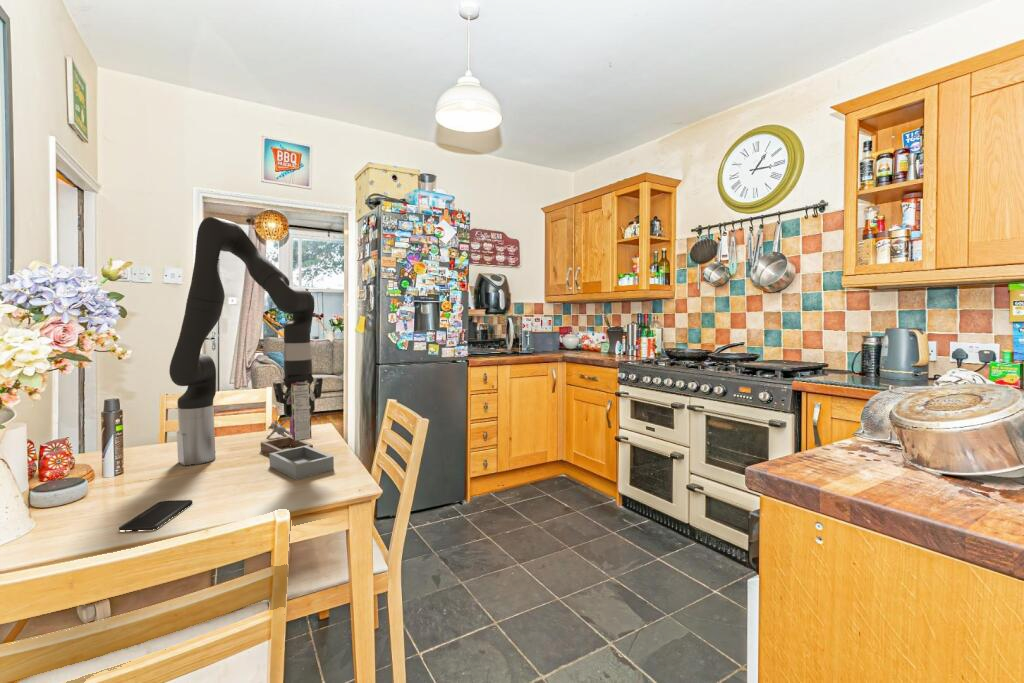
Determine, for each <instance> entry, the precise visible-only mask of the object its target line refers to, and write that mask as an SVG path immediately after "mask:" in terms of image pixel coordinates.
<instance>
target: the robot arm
mask: <svg viewBox="0 0 1024 683" xmlns="http://www.w3.org/2000/svg"><path fill="white" fill-rule="evenodd" d="M196 234H197V235H196V242H195V243H196V244H195V256H194V264H193V269H192V277H191V282H190V287H189V289H188V295H187V298H186V303H185V310H184V315H183V319H182V323H181V328H180V332H179V337H178V340H177V343H176V345H175V349H174V352H173V354H172V357H171V360H170V364H169V377H170V380H171V381H172V383H174V384H175V385H176V386H179V387H187V389H186V390H185V392H184V393H183V394H182V395H181V396H180V397H179V398H177V418H178V420H177V421H178V422H177V423H178V431H177V432H176V438H177V439H176V445H177V461H178V463H179V462H180V463H179V464H181V465H182V466H183V465H184V466H185V465H186V466H192V465H191V464H195V465H201V463H202V464H206V463H209V462H212V461H214V460H215V459H216V458H217V456H216V452H217V451H216V436H215V435H216V433H215V414H214V413H215V412H214V408H215V407H214V399H215V395H216V391H217V368H216V365H215V364H216V363H215V362H214V359H213V358H212V357H211V356H210V355H209V354H206V353H202V352H201V351H202V347H203V345H204V342H205V341H206V339H207V337H208V336H209V335H210V333H211V332H212V330H213V329H214V328H215V326H216V325H217V323H218V322H219V320H220V318H221V315H222V313H223V307H224V304H225V303H224V302H225V289H224V287H223V286H224V285H223V283H222V280H221V277H220V274H219V267H218V266H219V260H220V255H221V252H229V253H231V254H233V255H234V256H236V257H237V258H239V259H240V260H241V261H242V262H243V263H244V264H245V266H246V268H247V270H248V273H249V275H250V277H251V278H252V279H253V280H254V281H255V283H257V284H258V285H259V287H261V288H262V289H263V290H264V291H265V292H266V293H268V296H269V297H270V299H271V300H272V302H273V304H274V305H275V306H276V308H277V309H278V310H280V311H282V312H283V313H285V314H288V315H292V317H291V320H290V321H289V322H286V323H285V324H284V326H283V375H284V378H283V380H282V381H278V382H277V381H274V382H273V383H272V386H273V390H274V396H275V400H276V401H275V402H277V403H279V404H283V414H284V415H285V416H286V418H289V417H291V416H292V412H291V404H290V403H291V392H290V390H291V383H299V382H308V383H309V384H310V386H311V385H312V383H313V389H312V388H311V387H310V406H311V414H313V413H314V411H315V409H316V407H315V401H316V399H320V398H321V396H322V390H323V381H324V380H323V377H319V376H317V377H313V361H312V360H313V353H312V352H313V351H312V345H311V325H312V321H313V317H314V313H315V306H316V305H315V299H314V297H313V295H312V293H310V292H309V291H308V290H304V289H293V288H292V287H290V280H289V278H288V277H287V275H285V274H284V273H283V272H282V271H281V270H280V269H279V268H278V267H276V265H274V264H273V263H272V262H271V261H270V260H269V259H267V257H266V256H265V255H264V254H263V253H262V252H261V251H260V250H259V248H258V247H257V246H256V245H255V243H254V242H253V241H252V239H250V237H249V236H248V234H247V232H245V231H244V229H243V228H242V227H241V226H240V225H239V224H237V223H236V222H233V221H231V220H227V219H224V218H219V217H214V216H208V217H206V218H204V219H203V220H201V222H200V224H199V227H198V229H197V233H196ZM284 386H285V387H286V390H285V393H284V392H283V389H284ZM205 462H206V463H205ZM186 466H185V467H186Z"/></svg>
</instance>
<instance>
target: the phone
mask: <svg viewBox="0 0 1024 683" xmlns="http://www.w3.org/2000/svg"><path fill="white" fill-rule="evenodd" d="M192 503H193V500H192V499H183V500H181V499H179V500H163V501H159V502H157V503H155V504H154V505H152V506H151V507H149V508H147V509H146V510H144V511H143V512H141V513H139V514H138V515H136V516H135V517H133V518H131V519H130V520H128V521H127V522H125V523H123V524H122V525H120V526H119V527H118V531H119V530H133V531H137V530H153V529H157V528H158V527H160V526H161V525H162V524H164V523H165V522H167V521H168V520H169V519H171V518H172V517H174V516H176V515H177V514H178V513H179V512H181V511H182V510H184V509H185V508H187V507H188V506H189V507H191V506H192V505H193V504H192ZM191 504H192V505H191ZM190 505H191V506H190ZM189 507H188V508H189ZM188 508H187V509H188ZM185 510H186V509H185ZM185 510H184V511H185ZM182 512H183V511H182ZM182 512H181V513H182ZM178 515H179V514H178ZM178 515H177V516H178ZM177 516H176V517H177ZM174 518H175V517H174ZM171 520H172V519H171ZM167 523H168V522H167ZM164 525H165V524H164ZM160 528H161V527H160ZM157 530H158V529H157Z"/></svg>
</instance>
